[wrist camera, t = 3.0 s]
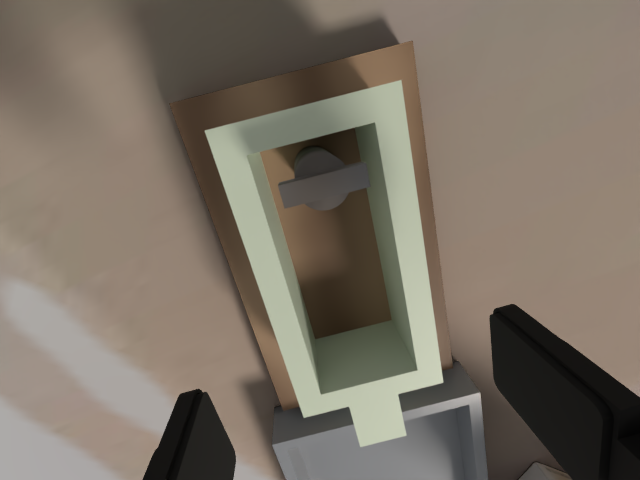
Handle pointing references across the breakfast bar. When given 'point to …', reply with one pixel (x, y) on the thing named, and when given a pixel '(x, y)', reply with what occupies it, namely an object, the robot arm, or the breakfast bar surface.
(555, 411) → the robot arm
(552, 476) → the coffee box
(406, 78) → the board
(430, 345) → the collar
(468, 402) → the tray
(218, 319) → the breakfast bar surface
